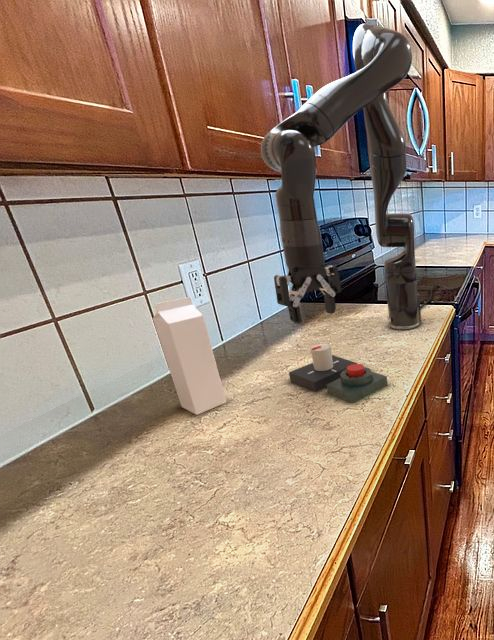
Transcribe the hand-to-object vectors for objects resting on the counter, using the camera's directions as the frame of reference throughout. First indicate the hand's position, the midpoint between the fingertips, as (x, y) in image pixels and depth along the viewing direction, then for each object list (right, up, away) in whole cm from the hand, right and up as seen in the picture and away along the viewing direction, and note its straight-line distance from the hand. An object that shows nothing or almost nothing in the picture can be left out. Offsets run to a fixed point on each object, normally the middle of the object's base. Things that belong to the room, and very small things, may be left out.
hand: (314, 317), depth 92 cm
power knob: (0, -11, +5) cm, 12 cm away
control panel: (0, -13, +6) cm, 14 cm away
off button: (+10, -12, -1) cm, 16 cm away
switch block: (+10, -16, 0) cm, 18 cm away
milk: (-20, -19, -6) cm, 28 cm away
